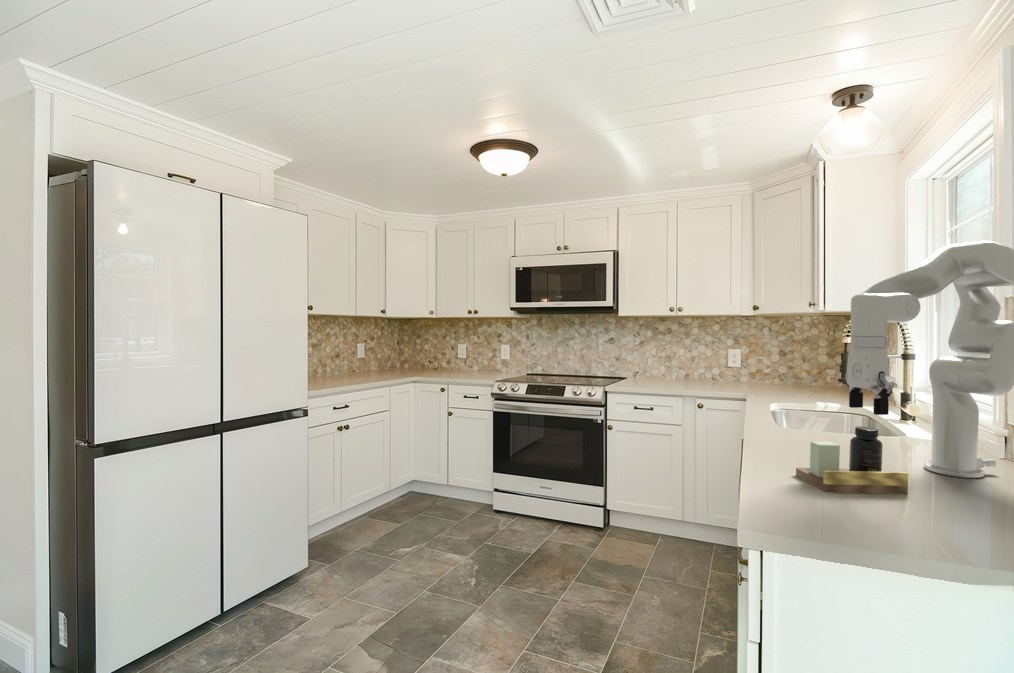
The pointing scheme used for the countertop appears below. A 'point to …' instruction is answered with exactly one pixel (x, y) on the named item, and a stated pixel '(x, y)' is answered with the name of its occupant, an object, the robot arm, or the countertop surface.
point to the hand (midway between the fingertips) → (868, 410)
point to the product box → (824, 457)
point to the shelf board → (857, 481)
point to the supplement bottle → (865, 450)
